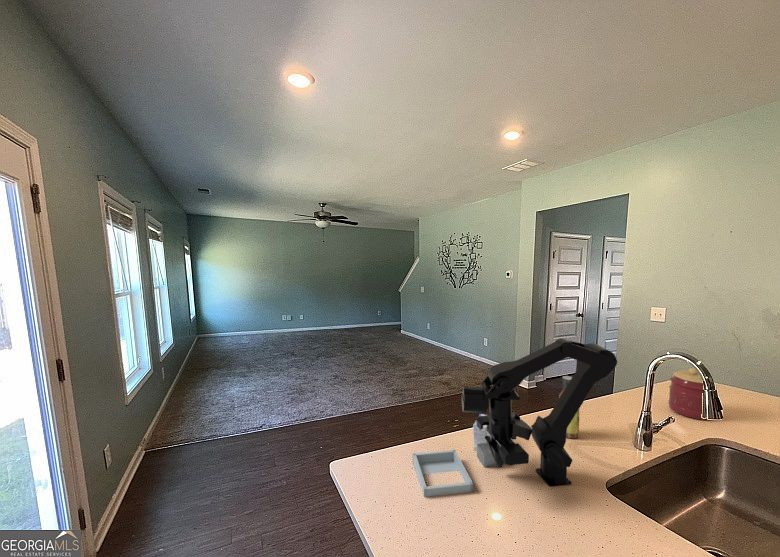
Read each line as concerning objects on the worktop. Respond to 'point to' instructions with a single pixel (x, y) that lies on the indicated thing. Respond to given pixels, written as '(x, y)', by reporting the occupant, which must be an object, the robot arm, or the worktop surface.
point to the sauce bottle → (574, 425)
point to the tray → (439, 464)
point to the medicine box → (479, 434)
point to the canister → (686, 393)
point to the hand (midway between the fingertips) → (499, 466)
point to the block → (485, 455)
